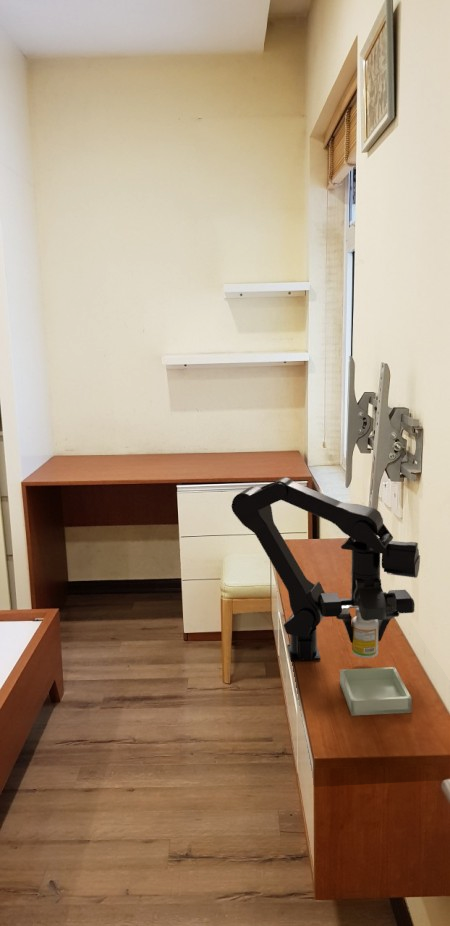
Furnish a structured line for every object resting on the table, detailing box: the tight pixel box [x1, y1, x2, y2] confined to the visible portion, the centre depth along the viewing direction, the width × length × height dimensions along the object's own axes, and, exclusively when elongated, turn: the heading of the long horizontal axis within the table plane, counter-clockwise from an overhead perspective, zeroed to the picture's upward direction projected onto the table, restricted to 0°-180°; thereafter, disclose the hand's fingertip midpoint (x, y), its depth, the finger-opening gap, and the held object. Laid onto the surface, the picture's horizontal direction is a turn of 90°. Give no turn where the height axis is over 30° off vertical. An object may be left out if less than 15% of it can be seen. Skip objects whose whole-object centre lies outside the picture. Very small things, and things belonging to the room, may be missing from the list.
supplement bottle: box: [351, 608, 379, 659], centre depth 137 cm, size 5×5×10 cm
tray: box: [339, 666, 412, 717], centre depth 127 cm, size 11×11×3 cm
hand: (365, 641), depth 138 cm, fingers closed on supplement bottle, 5 cm apart
